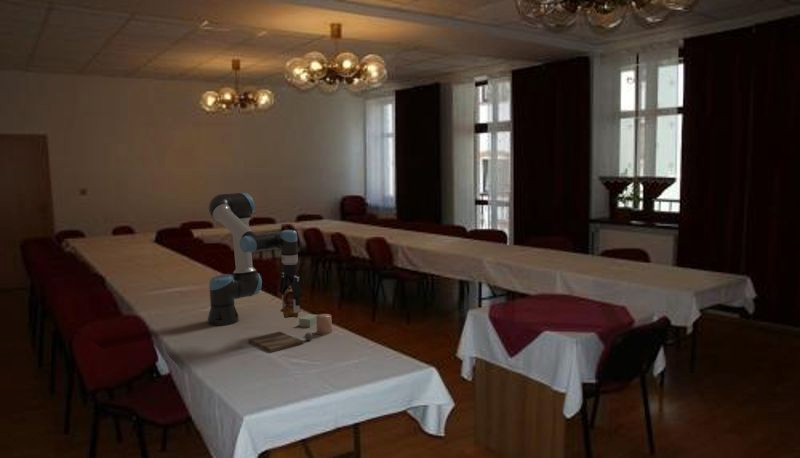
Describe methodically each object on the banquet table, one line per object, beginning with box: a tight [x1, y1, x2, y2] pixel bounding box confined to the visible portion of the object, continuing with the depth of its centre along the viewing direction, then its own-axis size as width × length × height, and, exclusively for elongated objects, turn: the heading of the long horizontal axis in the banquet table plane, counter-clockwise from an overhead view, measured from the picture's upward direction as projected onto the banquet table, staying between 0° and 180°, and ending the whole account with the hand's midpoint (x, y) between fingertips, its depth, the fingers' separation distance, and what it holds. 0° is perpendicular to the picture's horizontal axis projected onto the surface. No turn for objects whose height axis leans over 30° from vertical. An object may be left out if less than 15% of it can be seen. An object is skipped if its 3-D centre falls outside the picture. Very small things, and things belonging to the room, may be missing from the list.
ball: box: [304, 332, 314, 341], centre depth 264 cm, size 4×4×4 cm
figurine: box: [279, 285, 302, 319], centre depth 278 cm, size 10×8×15 cm
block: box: [298, 313, 318, 328], centre depth 291 cm, size 6×9×4 cm, turn 159°
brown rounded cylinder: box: [316, 313, 333, 336], centre depth 276 cm, size 7×7×8 cm
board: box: [247, 331, 304, 353], centre depth 261 cm, size 20×16×2 cm
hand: (290, 309), depth 278 cm, fingers closed on figurine, 9 cm apart
